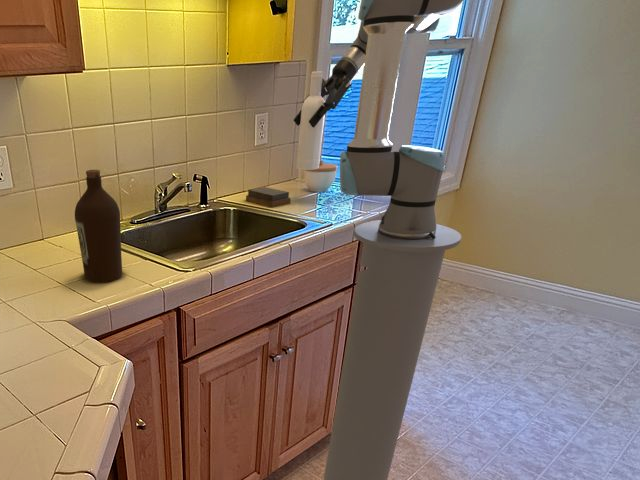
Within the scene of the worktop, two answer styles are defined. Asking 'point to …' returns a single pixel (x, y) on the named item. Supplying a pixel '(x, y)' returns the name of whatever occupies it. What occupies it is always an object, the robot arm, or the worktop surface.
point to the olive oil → (99, 231)
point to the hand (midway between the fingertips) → (303, 123)
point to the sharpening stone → (268, 197)
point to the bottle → (311, 135)
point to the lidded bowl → (320, 177)
